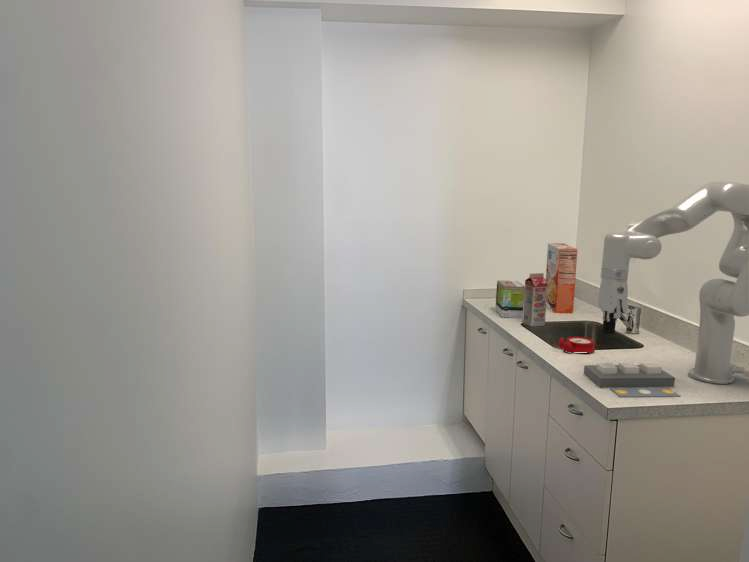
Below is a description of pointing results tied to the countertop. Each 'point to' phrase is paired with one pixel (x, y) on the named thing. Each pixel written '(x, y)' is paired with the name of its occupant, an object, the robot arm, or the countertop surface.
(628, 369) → the key middle
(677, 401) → the countertop surface
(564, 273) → the pasta box
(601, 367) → the key
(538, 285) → the juice carton
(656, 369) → the key
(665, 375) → the button board
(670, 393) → the pattern card
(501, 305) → the tea box
